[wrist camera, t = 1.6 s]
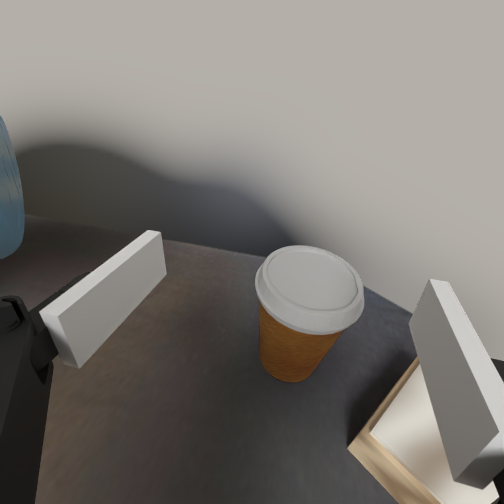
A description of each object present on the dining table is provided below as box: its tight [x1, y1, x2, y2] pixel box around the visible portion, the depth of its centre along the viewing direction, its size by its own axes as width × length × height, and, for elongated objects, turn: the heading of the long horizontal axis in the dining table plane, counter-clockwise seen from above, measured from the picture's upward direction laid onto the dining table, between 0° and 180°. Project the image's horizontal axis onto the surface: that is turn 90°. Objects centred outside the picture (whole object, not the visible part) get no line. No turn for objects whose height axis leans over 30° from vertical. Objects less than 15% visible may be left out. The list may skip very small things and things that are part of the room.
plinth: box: [347, 356, 499, 504], centre depth 24 cm, size 11×11×4 cm
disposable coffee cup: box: [255, 246, 364, 382], centre depth 28 cm, size 10×10×12 cm
